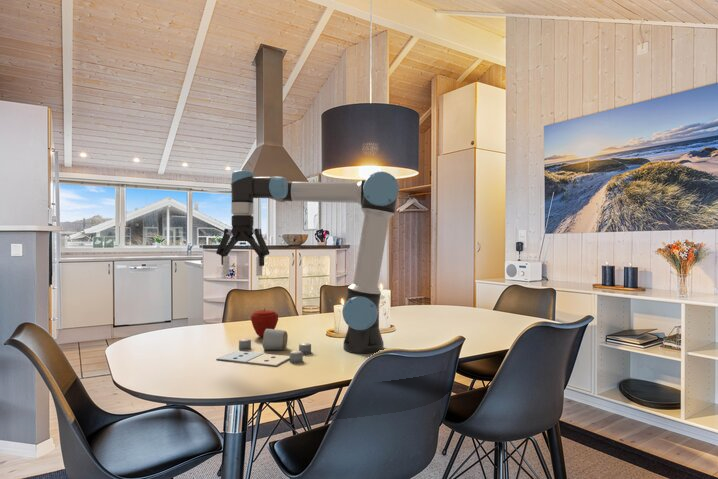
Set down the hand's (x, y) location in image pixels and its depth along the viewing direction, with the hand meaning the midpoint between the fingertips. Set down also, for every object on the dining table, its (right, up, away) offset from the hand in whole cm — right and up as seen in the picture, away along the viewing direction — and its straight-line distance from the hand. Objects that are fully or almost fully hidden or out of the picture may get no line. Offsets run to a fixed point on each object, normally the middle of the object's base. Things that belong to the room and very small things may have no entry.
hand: (242, 275), depth 157 cm
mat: (+6, -28, -5) cm, 29 cm away
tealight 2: (+20, -29, -7) cm, 36 cm away
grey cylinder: (+10, -29, +10) cm, 32 cm away
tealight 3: (+22, -29, +4) cm, 36 cm away
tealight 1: (-2, -28, +10) cm, 30 cm away
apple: (+2, -28, +28) cm, 40 cm away
